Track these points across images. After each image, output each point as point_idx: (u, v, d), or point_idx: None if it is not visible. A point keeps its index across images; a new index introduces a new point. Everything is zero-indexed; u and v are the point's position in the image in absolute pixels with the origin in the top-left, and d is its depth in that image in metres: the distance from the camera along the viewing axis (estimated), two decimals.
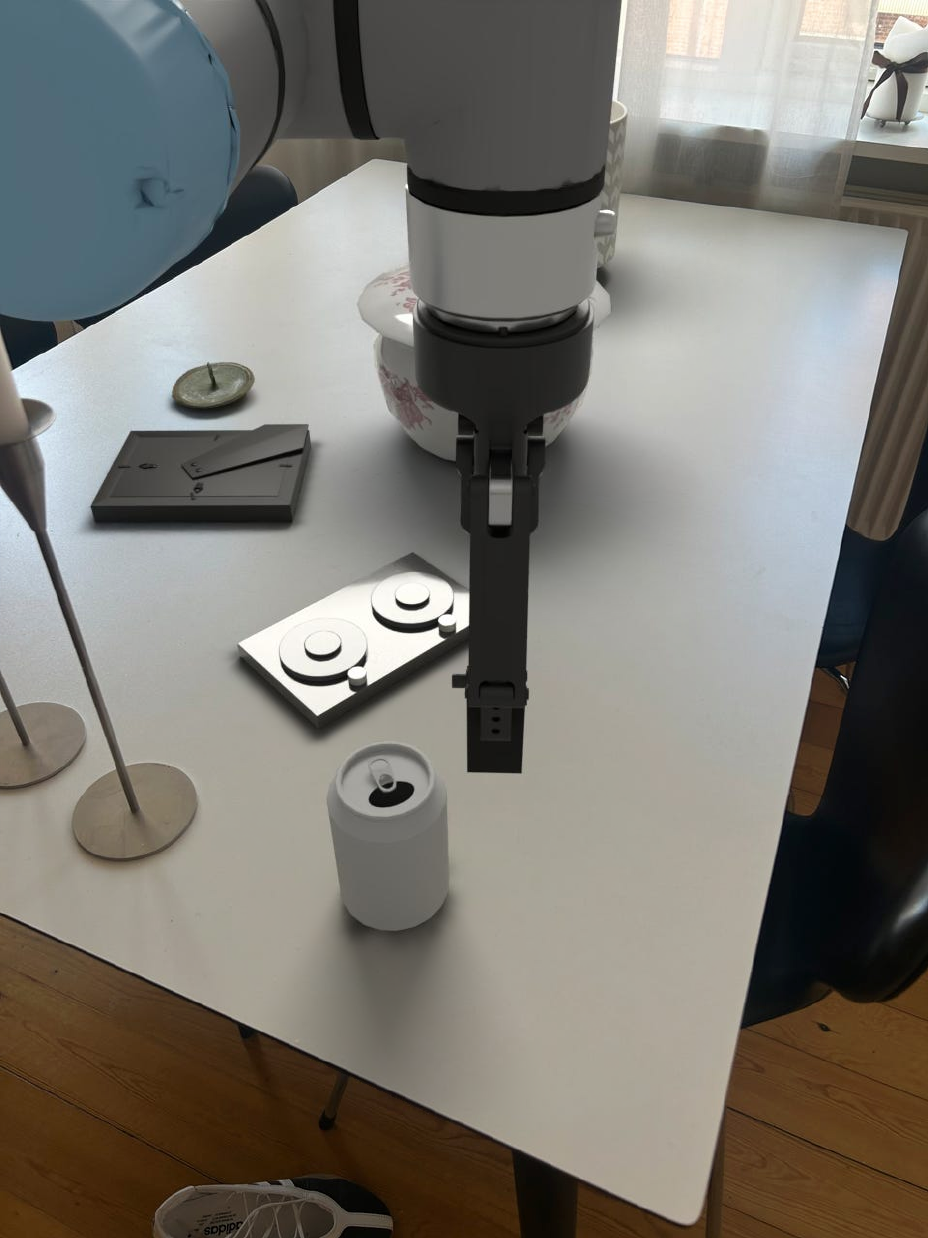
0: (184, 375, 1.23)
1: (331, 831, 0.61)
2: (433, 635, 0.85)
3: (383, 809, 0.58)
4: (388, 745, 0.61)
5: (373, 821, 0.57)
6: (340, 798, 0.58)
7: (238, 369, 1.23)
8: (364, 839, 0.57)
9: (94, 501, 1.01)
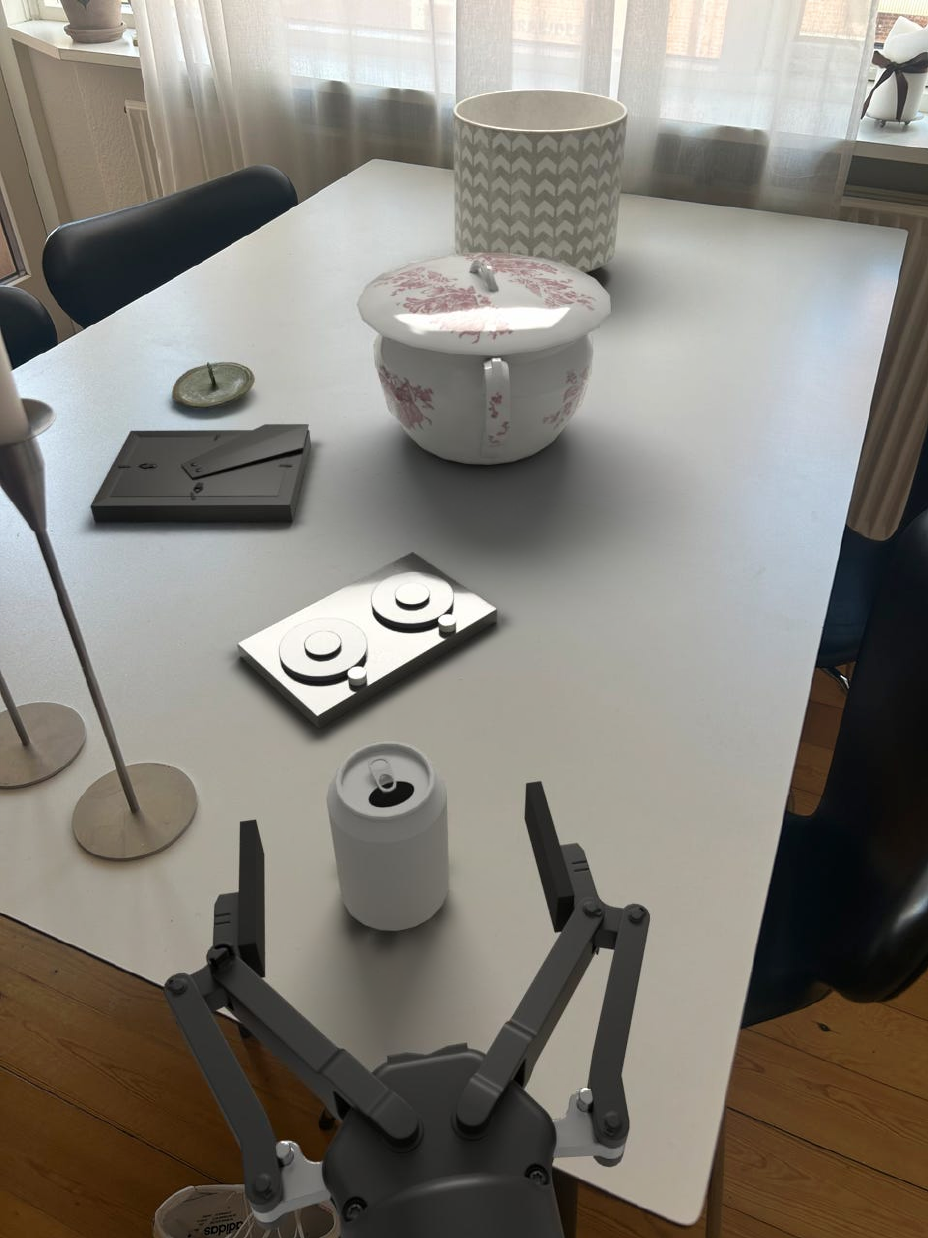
0: (184, 375, 1.23)
1: (331, 831, 0.61)
2: (433, 635, 0.85)
3: (383, 809, 0.58)
4: (388, 745, 0.61)
5: (373, 820, 0.57)
6: (340, 798, 0.58)
7: (238, 369, 1.23)
8: (364, 839, 0.57)
9: (94, 501, 1.01)
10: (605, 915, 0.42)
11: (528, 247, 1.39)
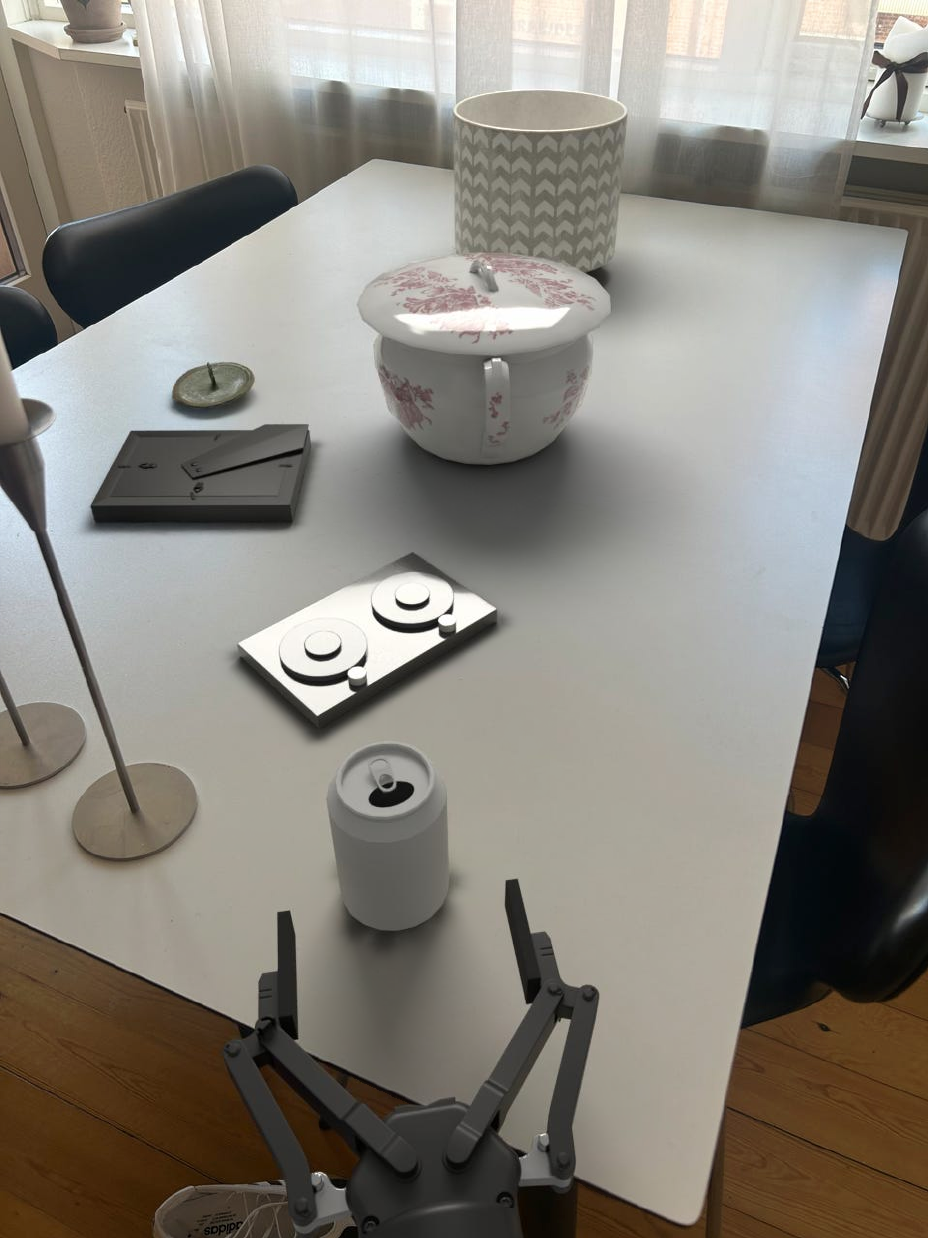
0: (184, 375, 1.23)
1: (331, 831, 0.61)
2: (433, 635, 0.85)
3: (383, 809, 0.58)
4: (388, 745, 0.61)
5: (373, 820, 0.57)
6: (340, 798, 0.58)
7: (238, 369, 1.23)
8: (364, 839, 0.57)
9: (94, 501, 1.01)
10: (565, 993, 0.53)
11: (528, 247, 1.39)
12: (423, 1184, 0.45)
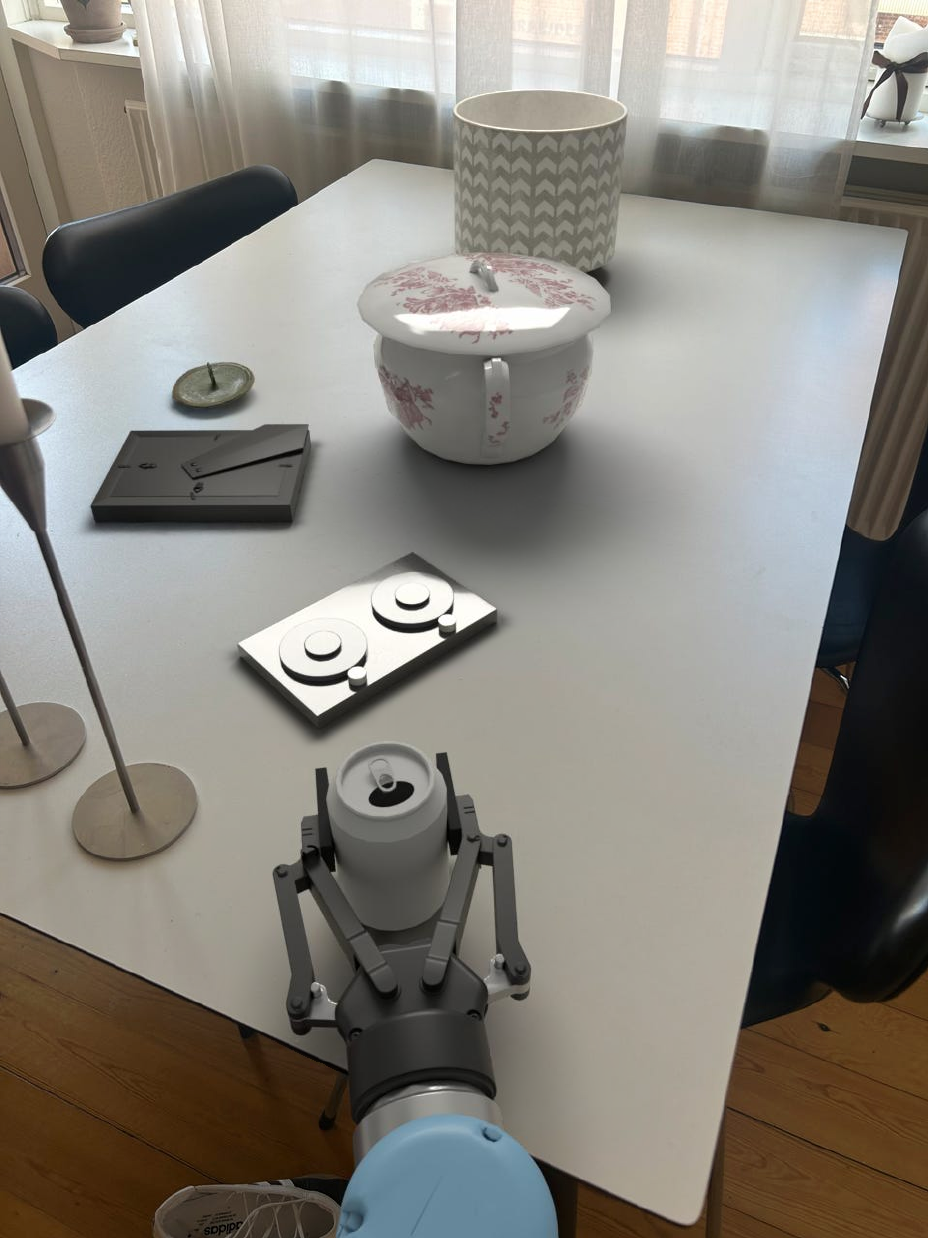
0: (184, 375, 1.23)
1: (331, 831, 0.61)
2: (433, 635, 0.85)
3: (383, 808, 0.58)
4: (388, 745, 0.61)
5: (373, 820, 0.57)
6: (340, 798, 0.58)
7: (238, 369, 1.23)
8: (364, 839, 0.57)
9: (94, 501, 1.01)
10: (482, 839, 0.61)
11: (528, 247, 1.39)
12: (402, 1004, 0.52)
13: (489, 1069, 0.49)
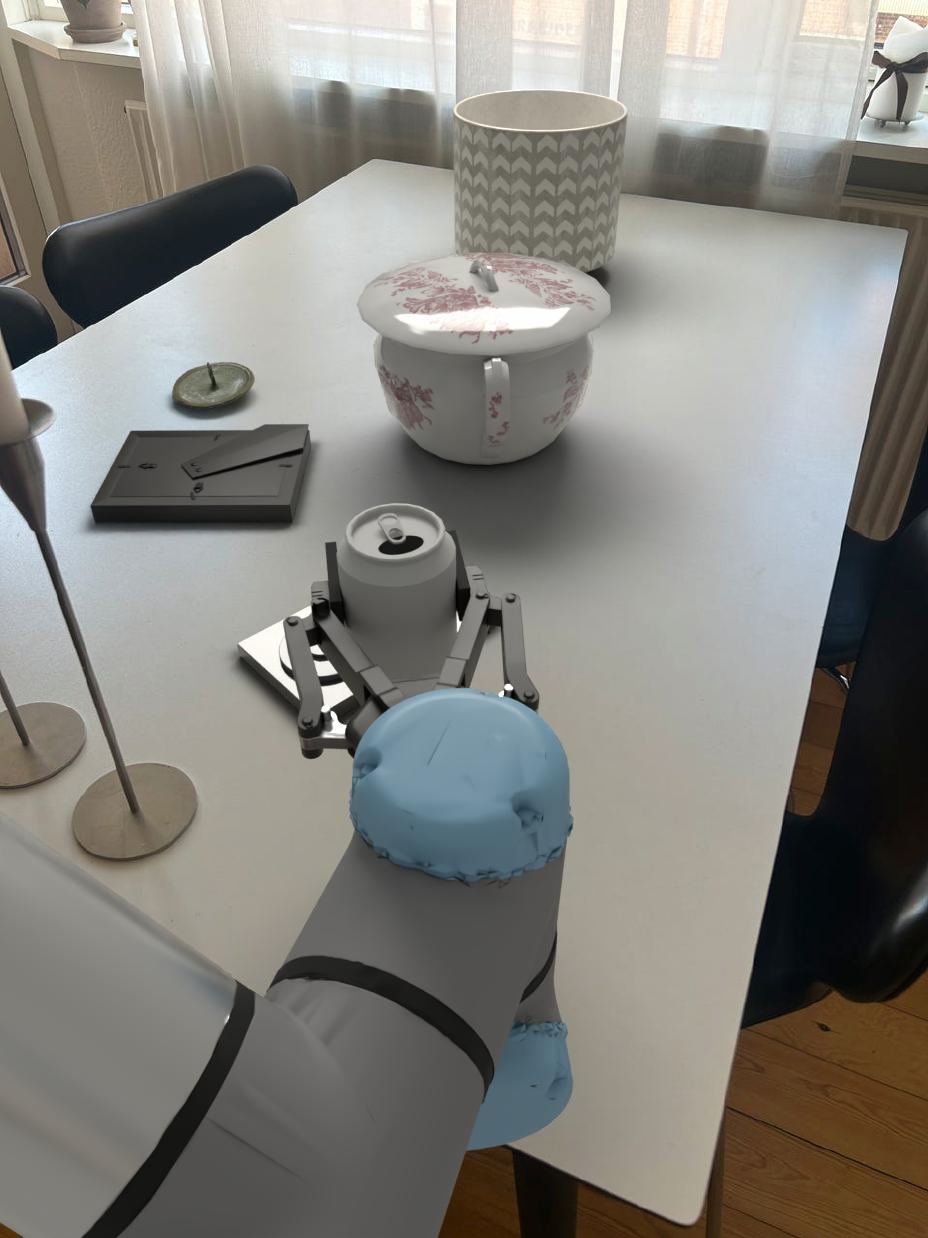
0: (184, 375, 1.23)
1: (341, 592, 0.62)
2: None
3: (392, 556, 0.58)
4: (398, 507, 0.62)
5: (383, 564, 0.58)
6: (350, 545, 0.58)
7: (238, 369, 1.23)
8: (374, 583, 0.58)
9: (94, 501, 1.01)
10: (490, 599, 0.61)
11: (528, 247, 1.39)
12: None
13: None
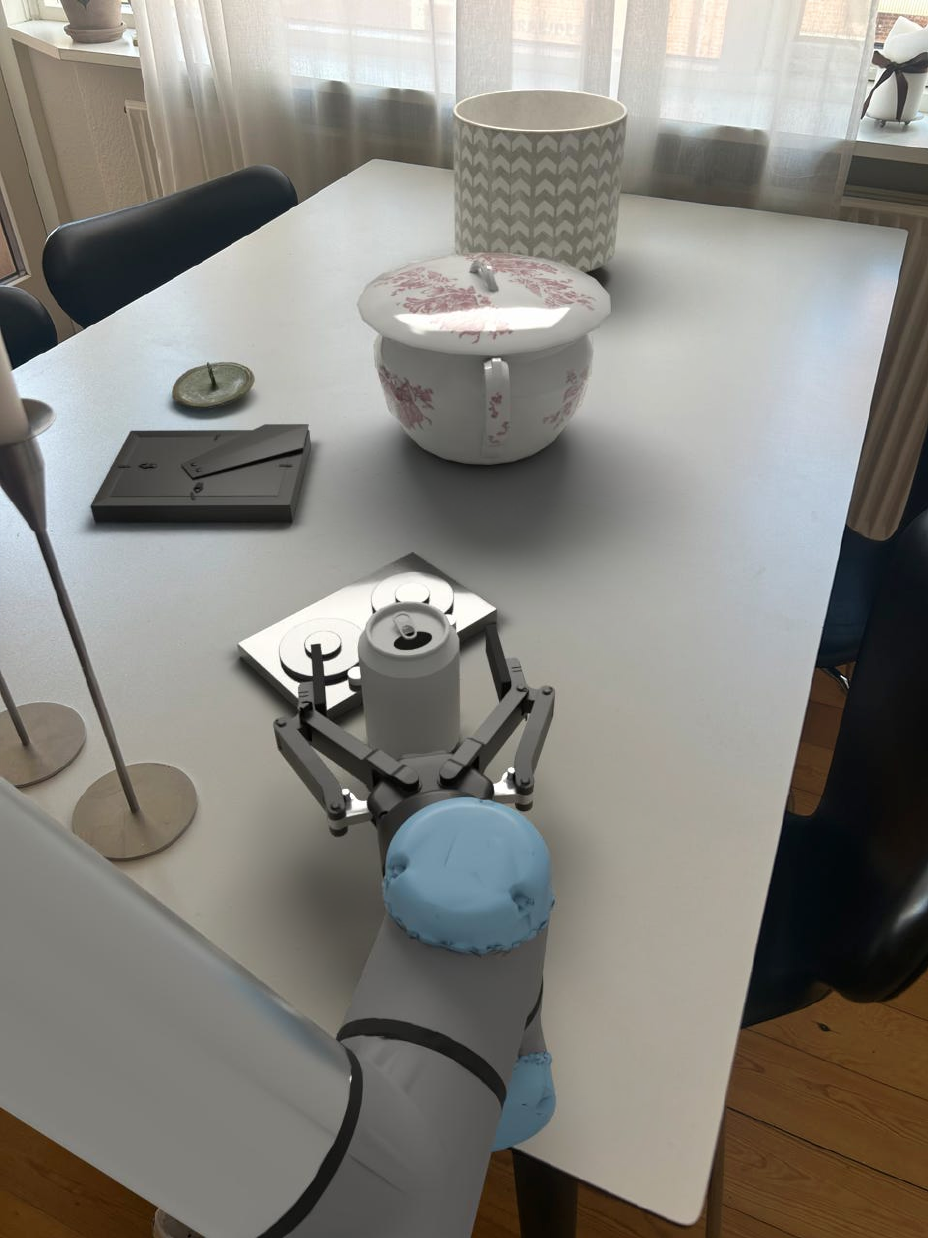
0: (184, 375, 1.23)
1: (361, 678, 0.72)
2: None
3: (406, 651, 0.69)
4: (409, 604, 0.72)
5: (398, 659, 0.68)
6: (370, 642, 0.69)
7: (238, 369, 1.23)
8: (390, 675, 0.68)
9: (94, 501, 1.01)
10: (529, 692, 0.70)
11: (528, 247, 1.39)
12: None
13: None
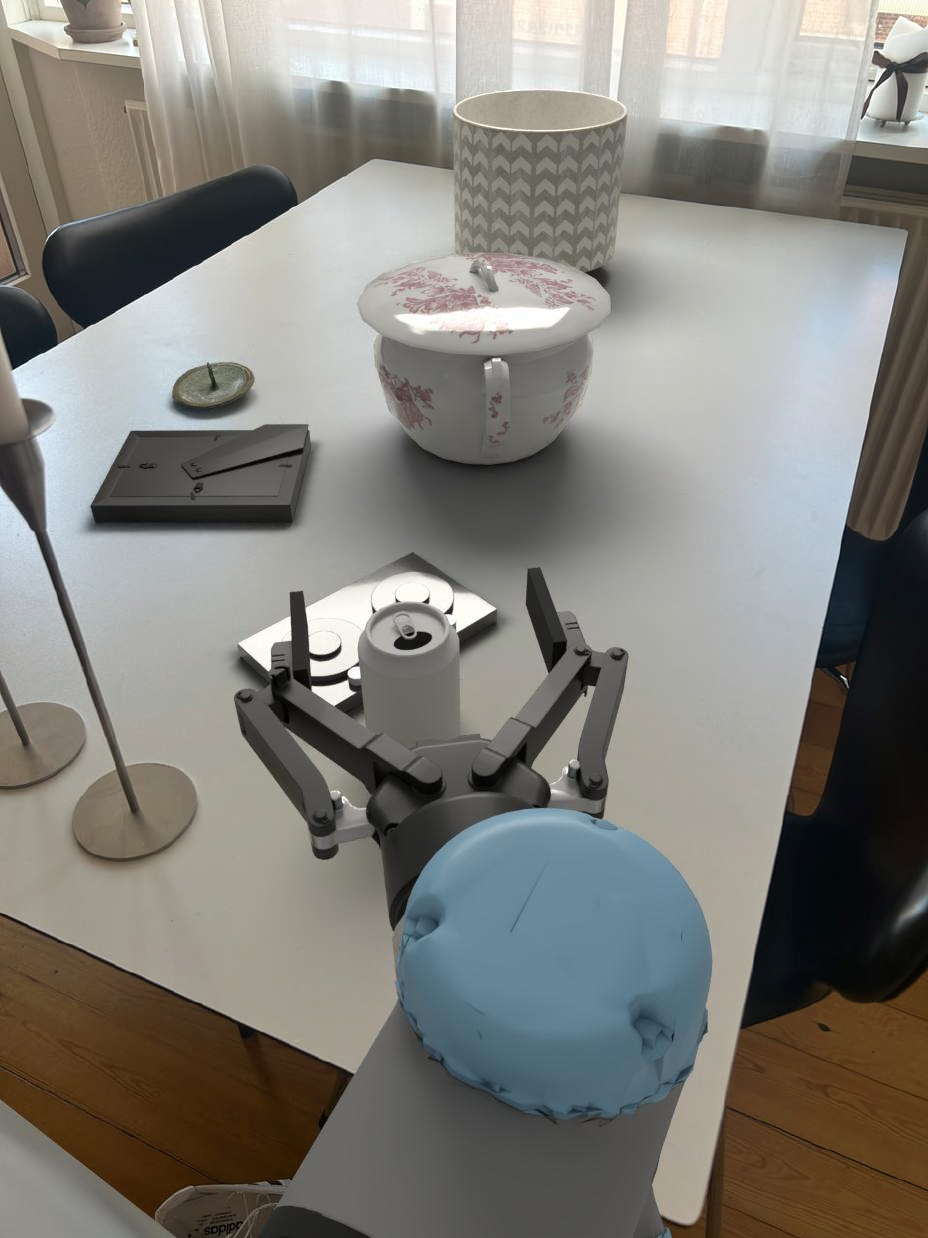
0: (184, 375, 1.23)
1: (361, 678, 0.72)
2: None
3: (406, 651, 0.69)
4: (409, 604, 0.72)
5: (398, 659, 0.68)
6: (370, 642, 0.69)
7: (238, 369, 1.23)
8: (390, 675, 0.68)
9: (94, 501, 1.01)
10: (592, 657, 0.51)
11: (528, 247, 1.39)
12: None
13: None
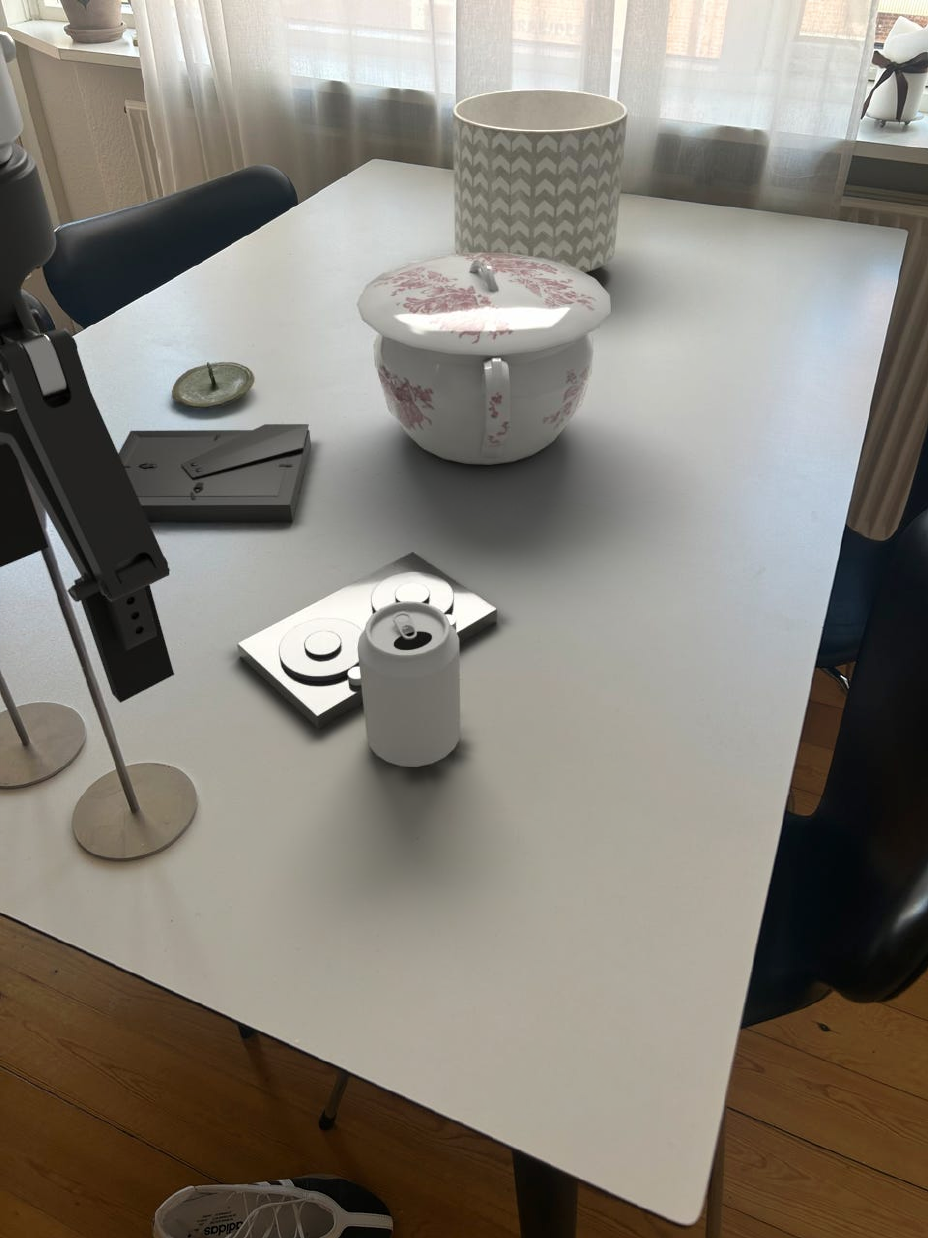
0: (184, 375, 1.23)
1: (361, 678, 0.72)
2: None
3: (406, 651, 0.69)
4: (409, 604, 0.72)
5: (398, 659, 0.68)
6: (370, 642, 0.69)
7: (238, 369, 1.23)
8: (390, 675, 0.68)
9: None
10: None
11: (528, 247, 1.39)
12: None
13: None
